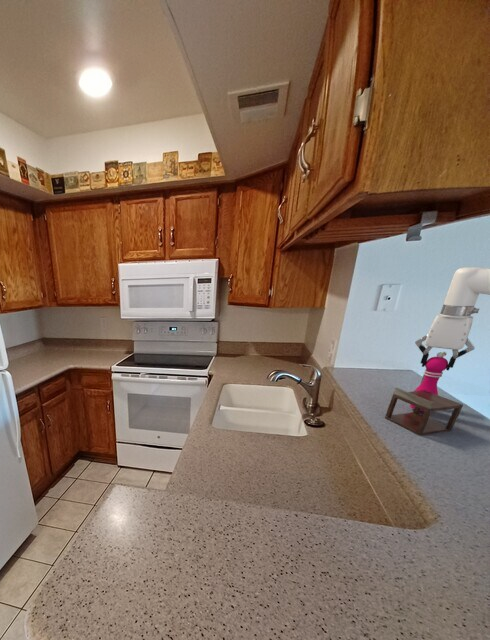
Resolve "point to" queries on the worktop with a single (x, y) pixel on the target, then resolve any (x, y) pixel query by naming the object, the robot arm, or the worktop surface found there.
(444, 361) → the pepper mill
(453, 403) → the shelf
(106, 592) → the worktop surface
